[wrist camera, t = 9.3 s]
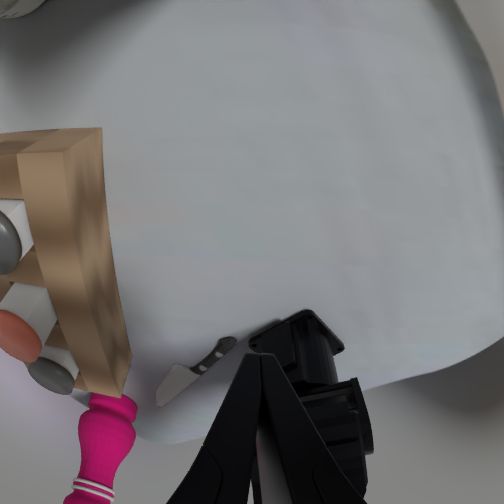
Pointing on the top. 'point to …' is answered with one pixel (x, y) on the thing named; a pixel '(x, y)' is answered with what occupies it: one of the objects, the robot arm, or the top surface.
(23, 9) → the spray can
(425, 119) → the top surface
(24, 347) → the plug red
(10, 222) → the plug
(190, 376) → the chef's knife
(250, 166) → the top surface
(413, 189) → the top surface
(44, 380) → the plug
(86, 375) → the socket board
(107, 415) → the pepper mill
